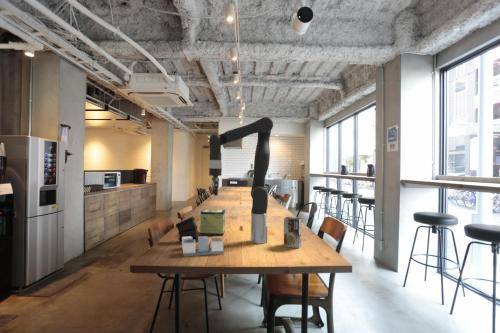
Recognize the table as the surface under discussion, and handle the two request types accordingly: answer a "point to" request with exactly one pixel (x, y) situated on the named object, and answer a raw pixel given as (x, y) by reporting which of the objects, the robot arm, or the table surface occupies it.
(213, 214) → the protein box
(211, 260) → the table surface
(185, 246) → the grey notched bar
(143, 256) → the table surface
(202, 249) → the block
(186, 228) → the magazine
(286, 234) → the coffee box
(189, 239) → the block
